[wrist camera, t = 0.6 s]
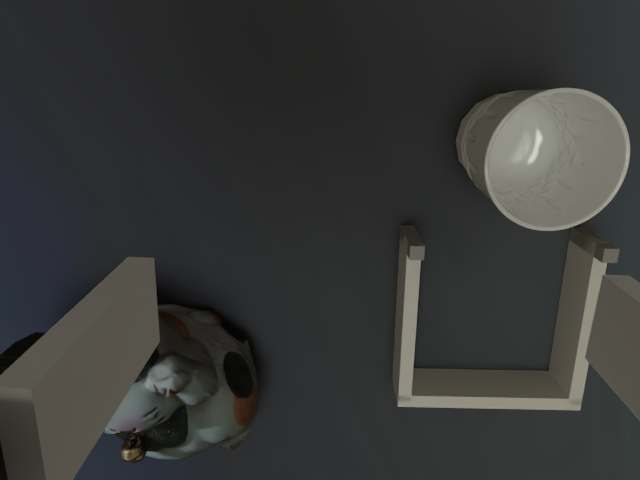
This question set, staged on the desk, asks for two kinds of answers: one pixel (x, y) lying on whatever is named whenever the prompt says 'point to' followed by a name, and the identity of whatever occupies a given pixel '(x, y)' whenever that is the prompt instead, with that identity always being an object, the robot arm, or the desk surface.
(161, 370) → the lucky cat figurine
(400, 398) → the open u-shaped frame
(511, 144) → the white cup
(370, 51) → the desk surface
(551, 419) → the desk surface
